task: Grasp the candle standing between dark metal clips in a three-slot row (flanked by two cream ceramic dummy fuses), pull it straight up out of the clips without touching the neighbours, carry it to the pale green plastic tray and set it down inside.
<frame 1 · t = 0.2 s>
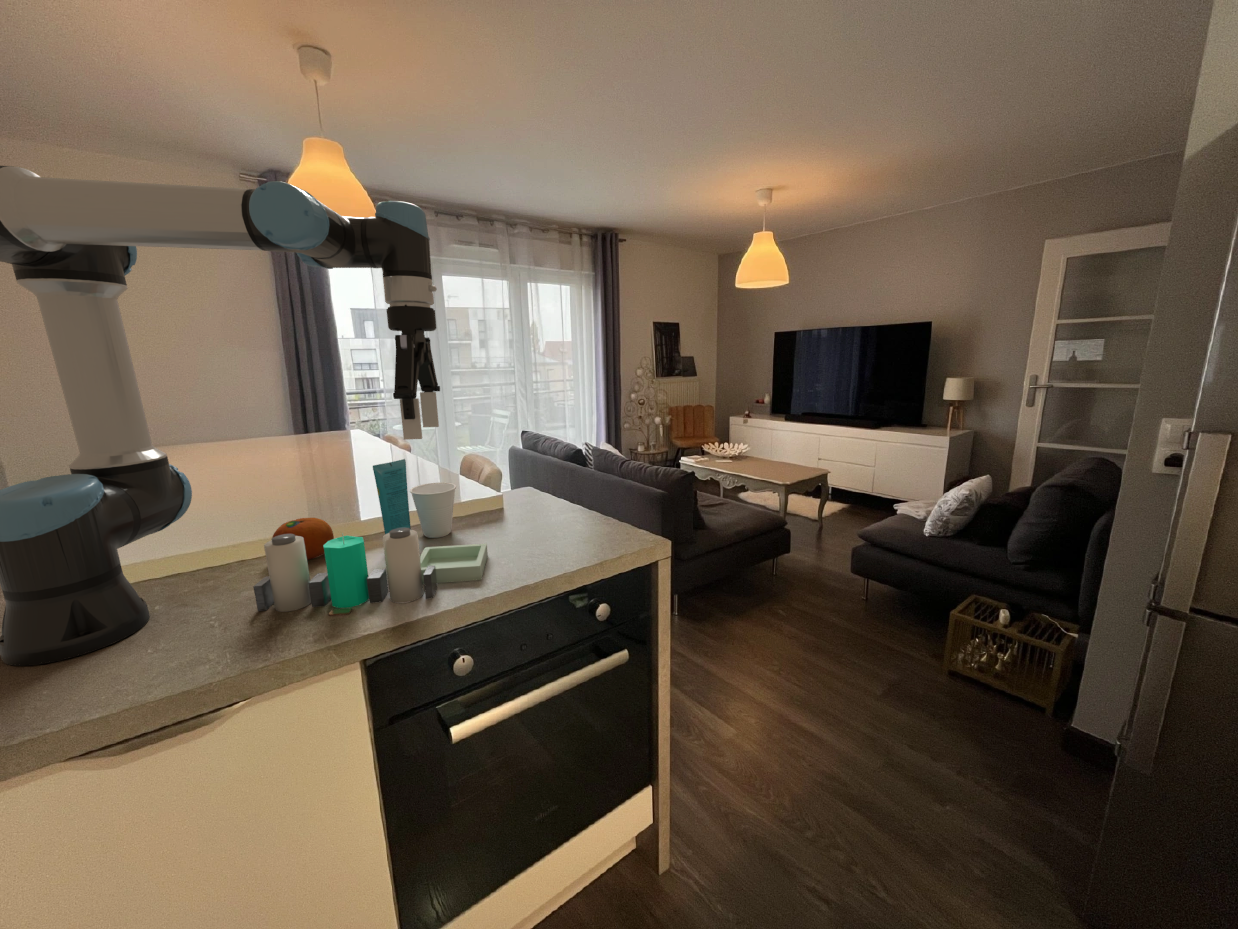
hand: (422, 432, 87), 27 cm above the worktop, fingers open, 13 cm apart
tray: (452, 569, 96), on the worktop
fruit: (306, 558, 102), on the worktop
cup: (437, 534, 115), on the worktop
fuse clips: (351, 599, 85), on the worktop
candle: (351, 600, 85), on the worktop
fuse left: (294, 603, 83), on the worktop
fuse right: (406, 595, 86), on the worktop
tube: (399, 551, 106), on the worktop
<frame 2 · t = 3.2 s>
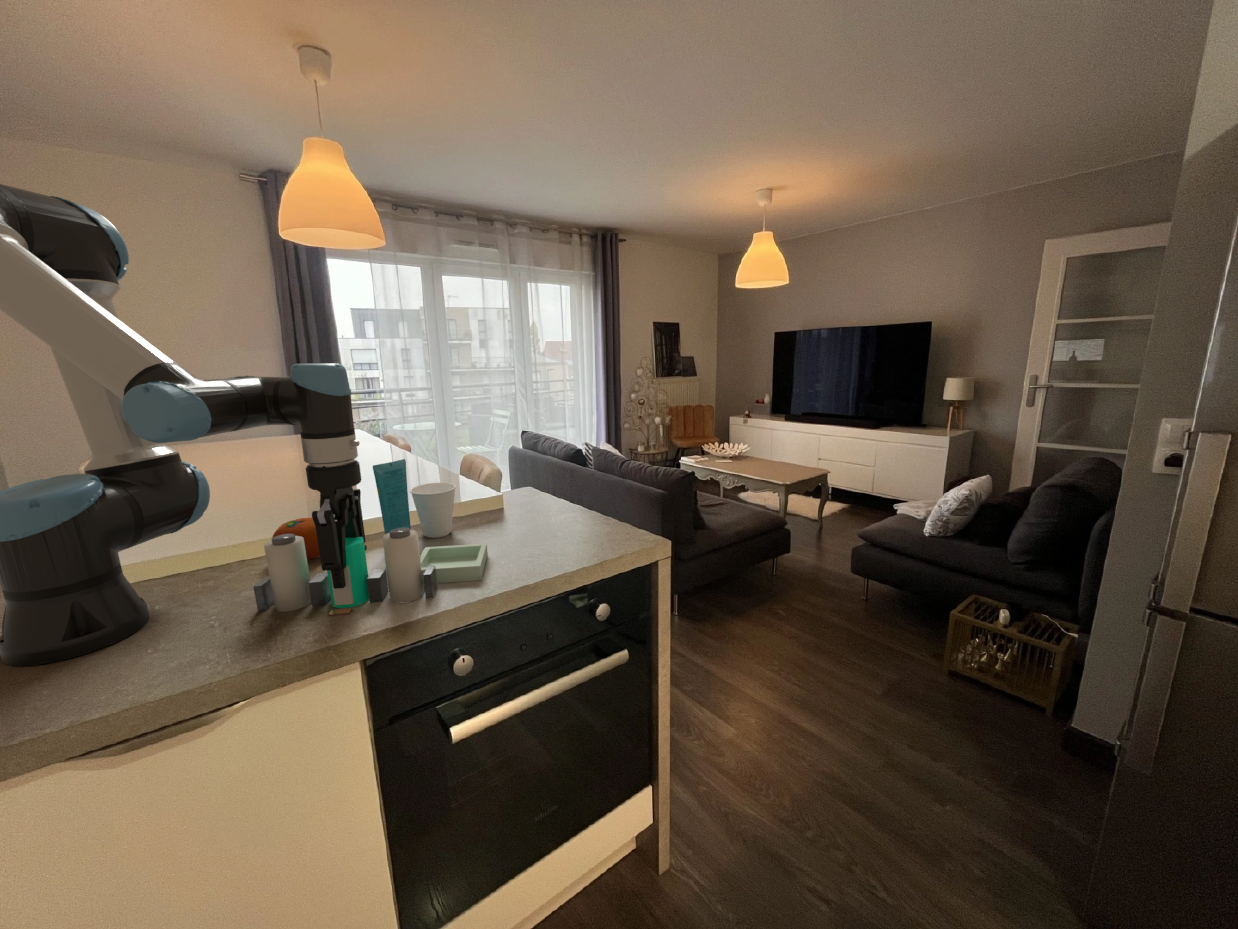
hand: (351, 595, 84), 1 cm above the worktop, fingers closed on candle, 5 cm apart
candle: (351, 600, 85), on the worktop, touching gripper
everything else where it was.
when the fingers open (3 cm above the worktop, at t = 10.8 s): candle drops 1 cm, resting on tray.
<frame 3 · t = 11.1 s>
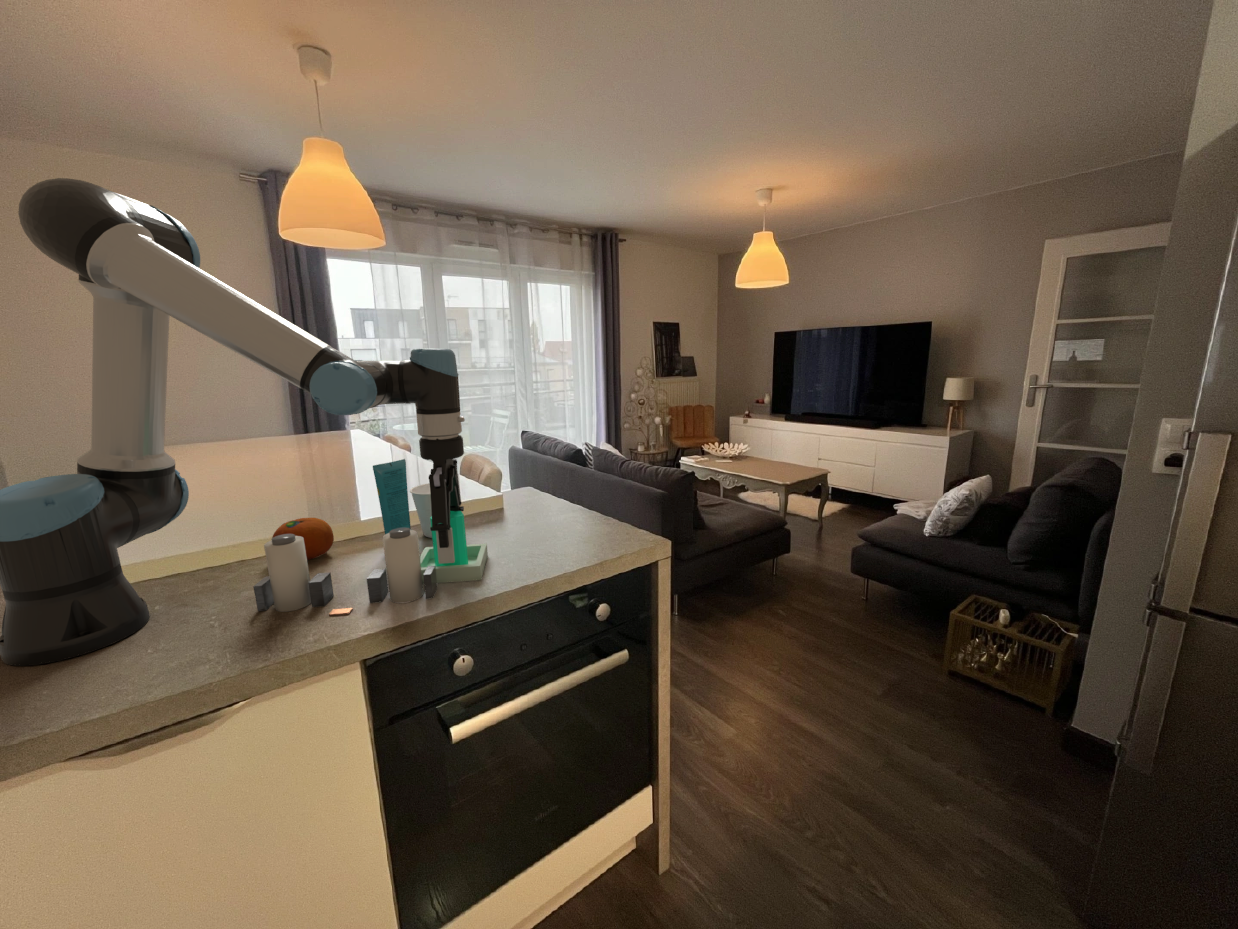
hand: (451, 552, 95), 3 cm above the worktop, fingers open, 8 cm apart
candle: (452, 567, 96), resting on tray
everything else where it was.
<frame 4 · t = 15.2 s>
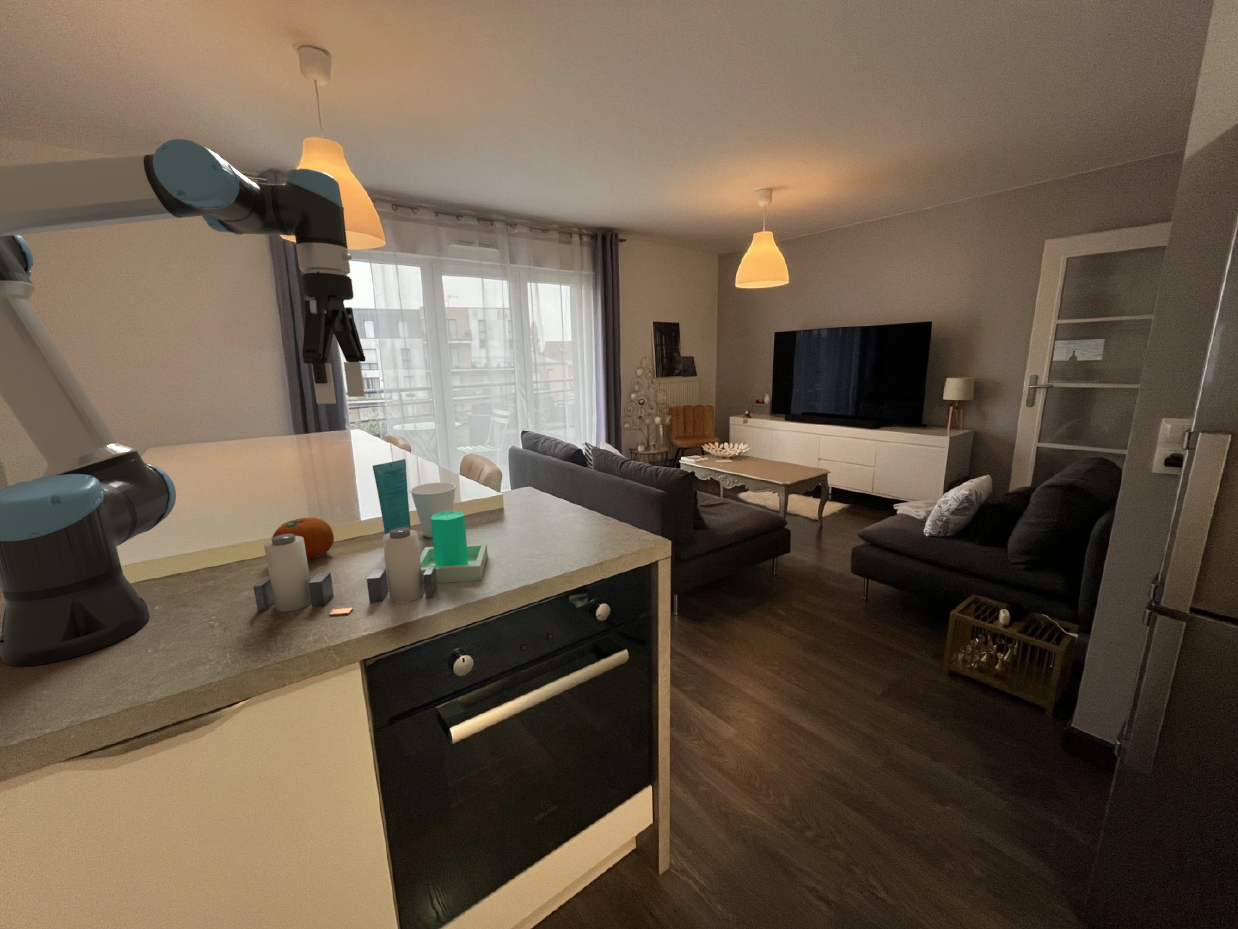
hand: (342, 400, 89), 33 cm above the worktop, fingers open, 13 cm apart
nothing on the worktop moved.
at the end: candle inside the target area on the tray (0.1 cm from its centre), point 0.4 cm above the tray's base; candle tilted 0°; the gripper is holding nothing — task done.
